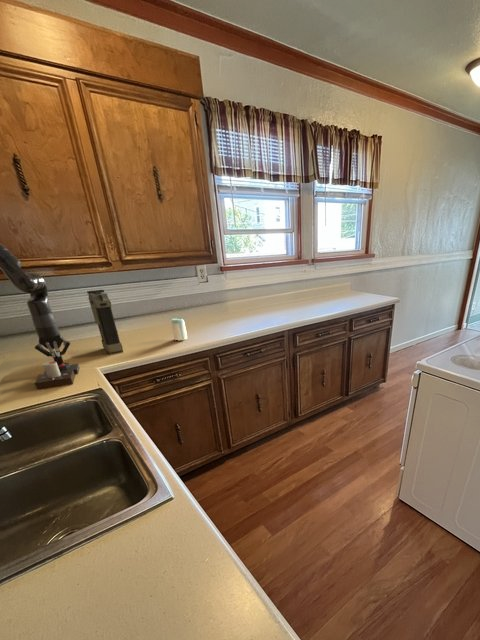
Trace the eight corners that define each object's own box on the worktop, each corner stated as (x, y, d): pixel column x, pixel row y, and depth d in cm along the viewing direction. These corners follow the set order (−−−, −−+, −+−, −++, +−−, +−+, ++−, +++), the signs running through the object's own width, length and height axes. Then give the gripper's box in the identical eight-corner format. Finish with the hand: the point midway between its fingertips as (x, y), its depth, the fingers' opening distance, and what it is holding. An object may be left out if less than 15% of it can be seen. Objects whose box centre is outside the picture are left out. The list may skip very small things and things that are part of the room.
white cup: (47, 378, 130) (41, 365, 127) (49, 375, 133) (43, 361, 131) (60, 376, 132) (55, 363, 129) (61, 373, 135) (56, 360, 132)
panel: (37, 390, 127) (34, 382, 126) (41, 381, 135) (38, 374, 134) (73, 384, 132) (70, 377, 131) (75, 376, 140) (72, 369, 139)
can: (172, 339, 189) (169, 318, 184) (184, 337, 193) (181, 316, 187) (176, 342, 184) (173, 321, 179) (189, 340, 188) (185, 319, 182)
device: (101, 348, 174) (85, 290, 160) (117, 345, 179) (101, 288, 165) (109, 355, 165) (91, 293, 151) (125, 351, 169) (109, 291, 156)
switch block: (45, 379, 137) (41, 370, 135) (47, 372, 144) (44, 364, 142) (78, 374, 142) (75, 365, 140) (79, 368, 149) (76, 359, 147)
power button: (55, 370, 140) (54, 366, 139) (56, 367, 142) (55, 364, 142) (65, 368, 141) (64, 365, 140) (66, 366, 144) (65, 362, 143)
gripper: (65, 321, 139) (78, 359, 147) (27, 324, 133) (43, 364, 141) (63, 324, 133) (77, 364, 141) (23, 328, 128) (40, 370, 135)
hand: (60, 364), depth 141 cm, fingers closed
